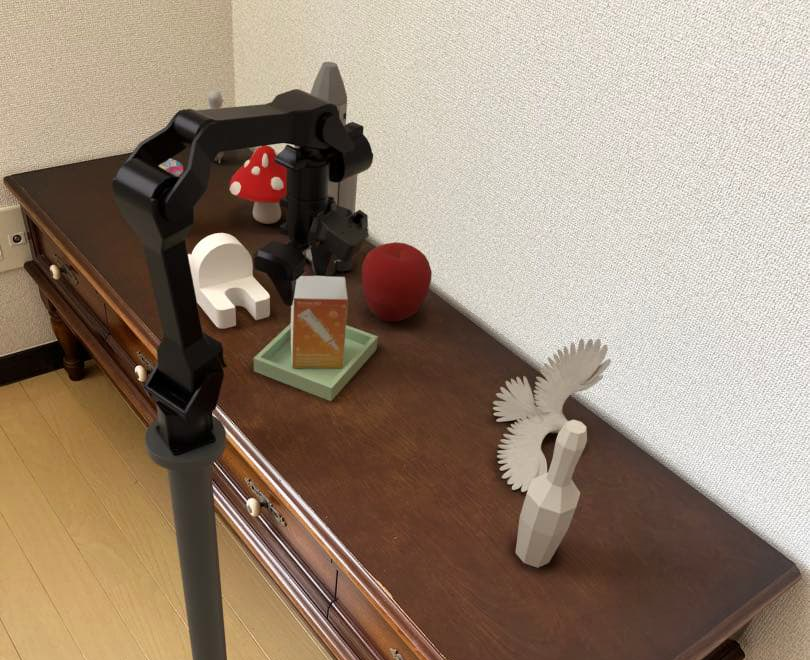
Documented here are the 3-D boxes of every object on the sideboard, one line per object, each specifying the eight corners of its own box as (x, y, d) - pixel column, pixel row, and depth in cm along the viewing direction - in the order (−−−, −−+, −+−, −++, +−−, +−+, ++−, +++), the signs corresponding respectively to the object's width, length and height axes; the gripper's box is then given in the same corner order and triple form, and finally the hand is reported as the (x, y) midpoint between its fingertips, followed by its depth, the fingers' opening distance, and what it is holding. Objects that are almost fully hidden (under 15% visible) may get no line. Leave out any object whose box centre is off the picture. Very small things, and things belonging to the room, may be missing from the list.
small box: (291, 369, 127) (292, 298, 118) (290, 345, 132) (291, 274, 123) (343, 369, 129) (348, 298, 120) (340, 345, 133) (345, 275, 124)
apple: (407, 343, 136) (416, 273, 127) (345, 321, 139) (350, 251, 130) (436, 309, 145) (446, 241, 135) (377, 289, 147) (383, 221, 138)
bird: (472, 481, 127) (525, 510, 114) (433, 395, 120) (484, 415, 107) (575, 413, 132) (637, 433, 119) (542, 326, 125) (604, 337, 112)
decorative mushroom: (245, 244, 154) (243, 167, 143) (218, 210, 162) (214, 135, 152) (313, 231, 160) (316, 156, 149) (284, 199, 168) (284, 126, 157)
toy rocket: (359, 270, 151) (373, 73, 127) (320, 283, 147) (328, 81, 123) (323, 242, 157) (331, 48, 133) (285, 254, 153) (286, 55, 129)
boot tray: (331, 401, 124) (331, 388, 122) (253, 371, 127) (253, 358, 125) (376, 349, 134) (378, 336, 133) (304, 322, 138) (304, 309, 136)
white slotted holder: (219, 330, 134) (215, 272, 126) (175, 275, 144) (170, 219, 136) (272, 315, 138) (272, 259, 131) (226, 264, 148) (223, 208, 141)
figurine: (238, 168, 176) (236, 96, 165) (222, 172, 174) (219, 100, 163) (214, 151, 180) (210, 80, 170) (198, 155, 178) (193, 84, 168)
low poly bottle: (500, 553, 106) (536, 426, 90) (526, 526, 109) (566, 400, 94) (541, 580, 103) (586, 454, 88) (566, 552, 107) (614, 427, 92)
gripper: (325, 237, 102) (320, 339, 113) (391, 183, 115) (381, 280, 126) (249, 211, 105) (252, 313, 116) (321, 161, 118) (318, 258, 129)
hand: (304, 290), depth 121 cm, fingers open, 9 cm apart
